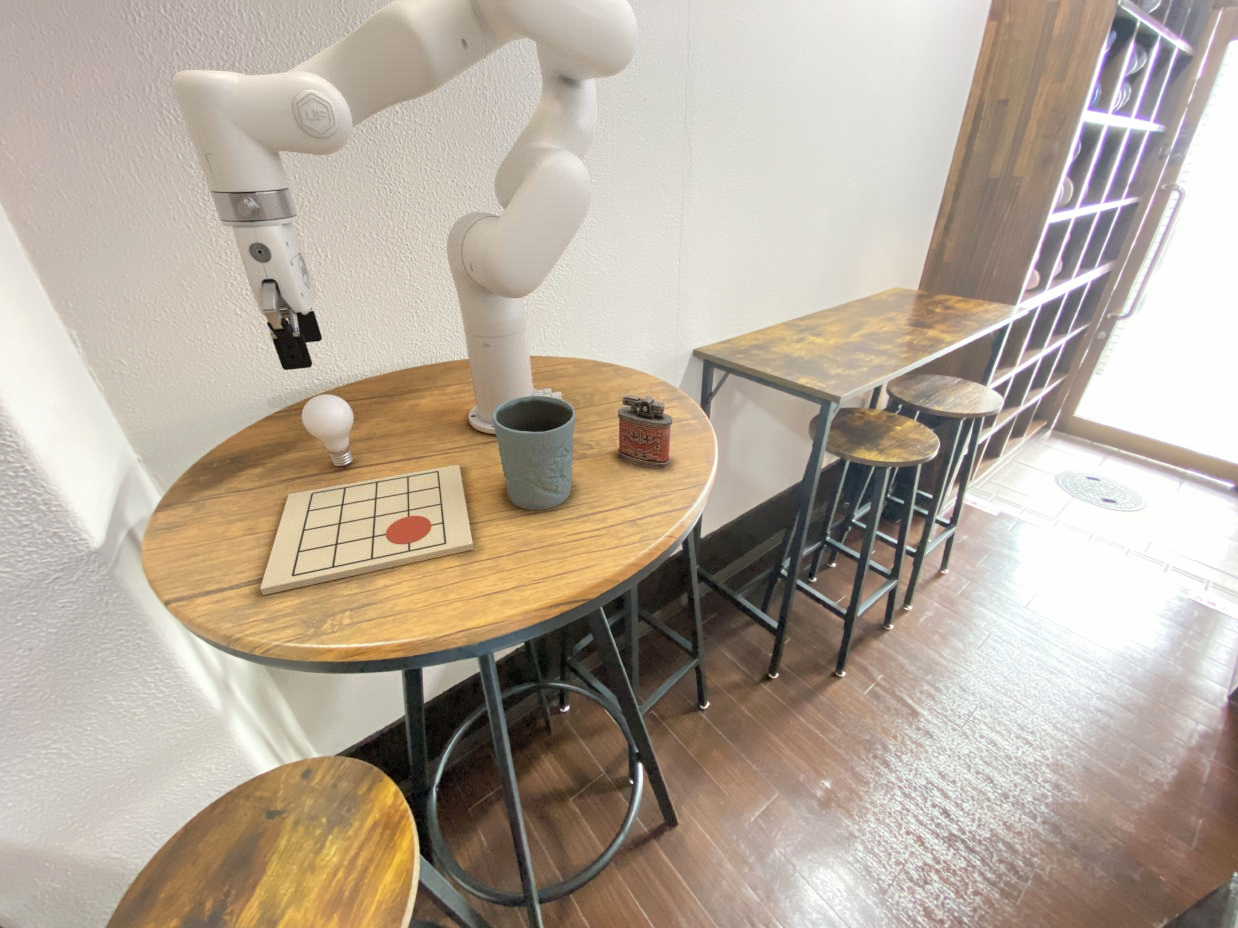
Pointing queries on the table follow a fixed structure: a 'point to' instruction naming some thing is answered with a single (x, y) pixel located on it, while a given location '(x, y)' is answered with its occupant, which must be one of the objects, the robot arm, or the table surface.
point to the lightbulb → (330, 425)
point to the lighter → (644, 432)
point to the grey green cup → (536, 450)
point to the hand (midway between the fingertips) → (304, 354)
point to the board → (368, 528)
